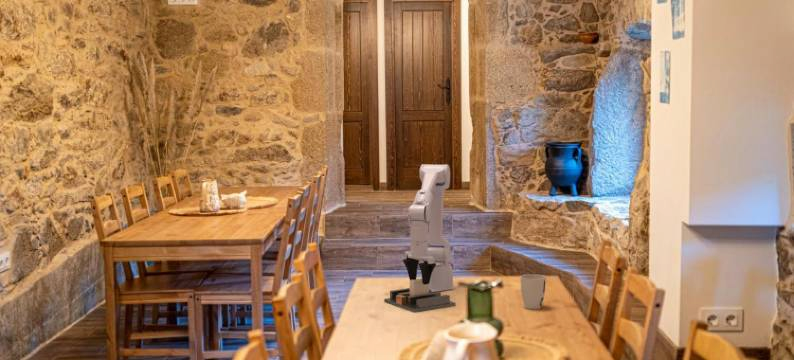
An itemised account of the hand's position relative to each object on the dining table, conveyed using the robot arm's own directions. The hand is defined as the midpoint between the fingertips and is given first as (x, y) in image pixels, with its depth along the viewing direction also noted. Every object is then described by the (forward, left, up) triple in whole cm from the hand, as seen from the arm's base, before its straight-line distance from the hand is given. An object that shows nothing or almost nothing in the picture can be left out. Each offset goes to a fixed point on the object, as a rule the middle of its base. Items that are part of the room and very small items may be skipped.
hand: (419, 282), depth 295 cm
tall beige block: (0, 0, -6) cm, 6 cm away
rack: (0, 0, -7) cm, 7 cm away
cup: (-27, +25, -7) cm, 38 cm away
